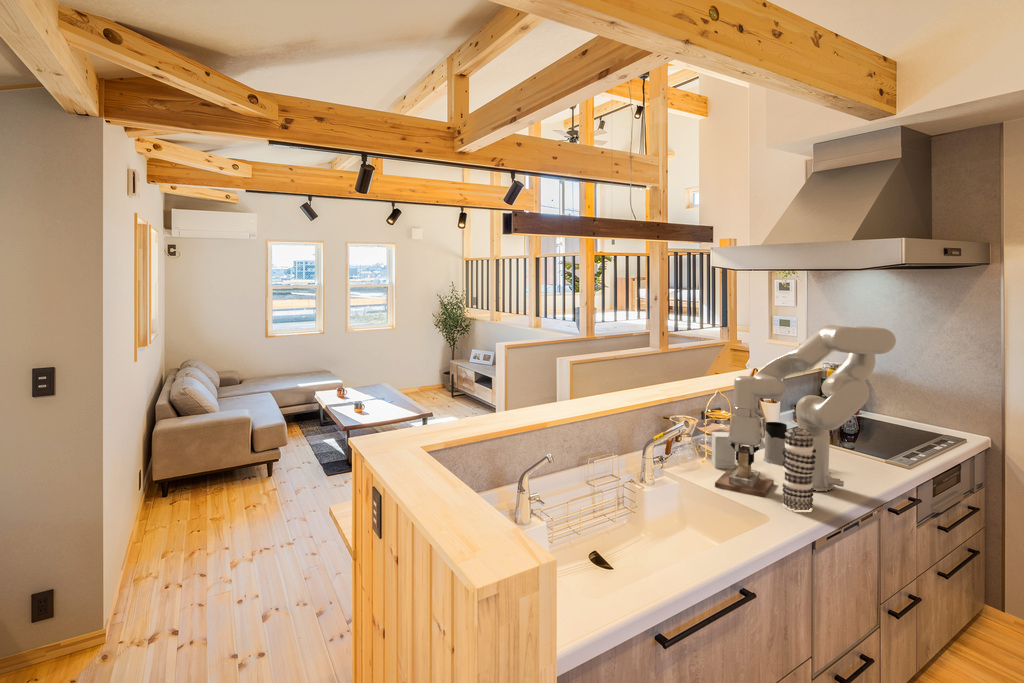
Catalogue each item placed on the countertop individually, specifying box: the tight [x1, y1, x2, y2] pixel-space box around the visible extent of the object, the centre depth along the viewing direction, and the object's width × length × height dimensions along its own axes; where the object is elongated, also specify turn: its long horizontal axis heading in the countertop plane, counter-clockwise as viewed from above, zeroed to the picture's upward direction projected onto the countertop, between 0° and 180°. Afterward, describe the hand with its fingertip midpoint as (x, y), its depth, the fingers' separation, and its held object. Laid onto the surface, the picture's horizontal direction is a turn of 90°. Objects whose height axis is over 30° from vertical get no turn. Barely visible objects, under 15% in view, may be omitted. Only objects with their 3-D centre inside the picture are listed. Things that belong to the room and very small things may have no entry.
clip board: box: [714, 467, 775, 498], centre depth 178 cm, size 16×14×4 cm
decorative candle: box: [781, 427, 816, 510], centre depth 158 cm, size 9×9×25 cm
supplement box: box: [711, 431, 736, 470], centre depth 198 cm, size 7×7×13 cm
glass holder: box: [762, 421, 788, 465], centre depth 201 cm, size 9×14×15 cm, turn 70°
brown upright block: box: [737, 445, 752, 479], centre depth 177 cm, size 3×5×11 cm, turn 142°
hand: (744, 462), depth 177 cm, fingers closed on brown upright block, 2 cm apart
